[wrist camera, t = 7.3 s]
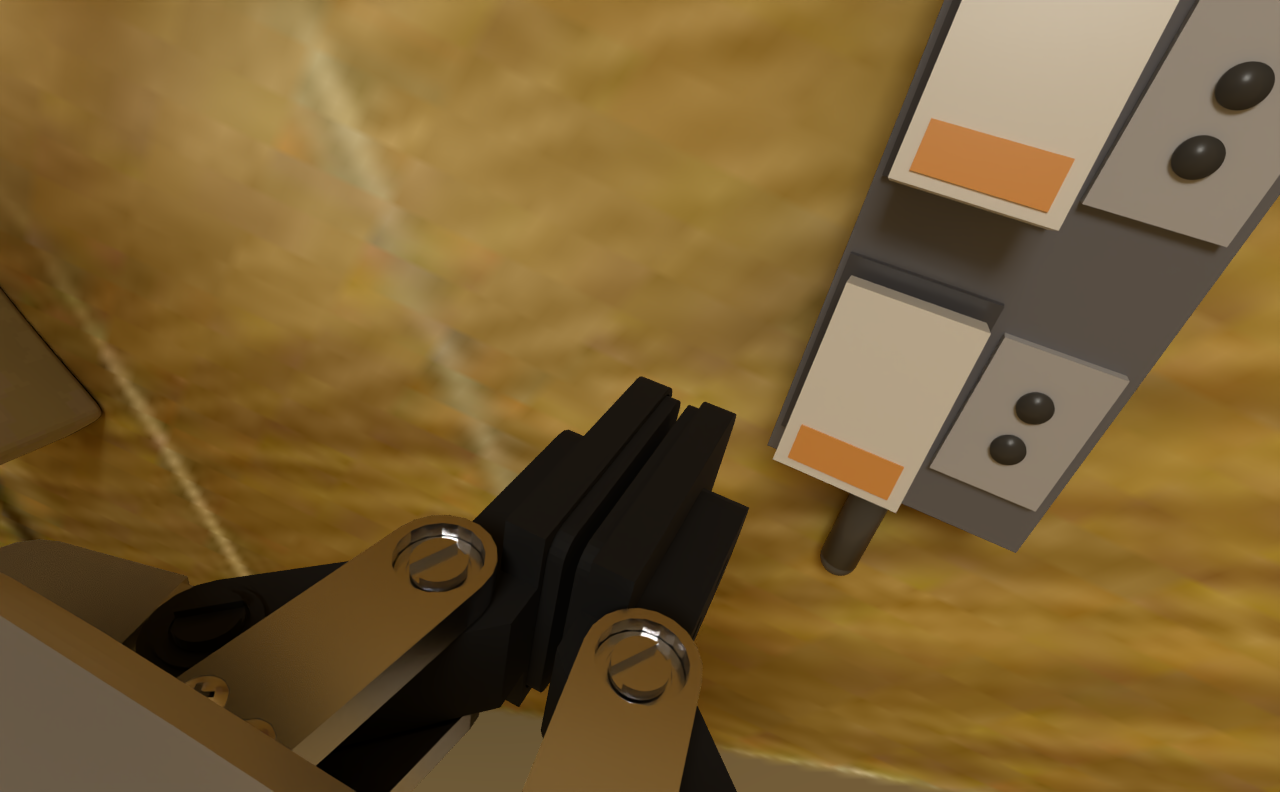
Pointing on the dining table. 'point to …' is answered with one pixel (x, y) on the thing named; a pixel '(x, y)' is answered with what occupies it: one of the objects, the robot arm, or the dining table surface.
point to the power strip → (1070, 272)
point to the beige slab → (35, 390)
